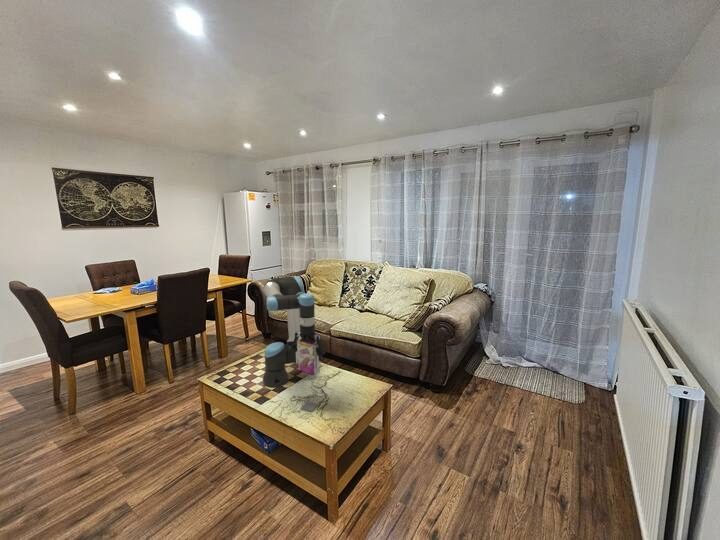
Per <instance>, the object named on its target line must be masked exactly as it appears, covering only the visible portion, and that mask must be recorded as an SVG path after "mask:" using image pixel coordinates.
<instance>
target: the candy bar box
mask: <svg viewBox="0 0 720 540" xmlns="http://www.w3.org/2000/svg"><path fill="white" fill-rule="evenodd" d="M300 340H301V339H300ZM300 340H298V341H297V360H298V364H297V370H298V371H300V372H303V373H306V374H309V375H312V376H315V375H317V374H319V373H320V367H319V368H317V355H318V354H317V352H316V348H318V347H319V346H318V344H317V341H316V342H315V343H314V344H310V343H309V342H304V341H302V342H300ZM312 342H313V341H312Z"/></svg>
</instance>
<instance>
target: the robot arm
mask: <svg viewBox="0 0 720 540" xmlns="http://www.w3.org/2000/svg"><path fill="white" fill-rule="evenodd" d="M262 291H263V294H264V295H265V297H267V298H266V309H267V311H268V312H280V311H286V317H287V318H286V319H287V329H288V339H287V340H286V344H285V343H284V342H281V341H276V342H272V343H270V344H268V345H267V346H266V347H265V349H264V365H265V366H264V367H265V368H264V369H265V370H264V374H263V377H262V384H263V385H264V387H267V388H278V387H282V386H284V385H285V384H287V383H288V382H289V375H288V372H287V369H286V365H288V364H297V365H298V360H297V341H298V340H300V339H301V340H300V342H302V341H304V342H309V343H310V344H314V343H315V342H317V344H318V346H319V347H318V348H316V352H317V354H318V355H317V368H319V369H320V367H321V366H322V364H321V363H322V361H323V356H324V355H325V354H326V349H325V346H324V344H323V342H322V341H323V340H322V338H321V337H322V336H321V334H318V335H317V334H316V333H315V332H316V320H315V319H316V318H315V317H316V316H315V313H316V312H315V302H316V301H315V296H314V294H312V293H307V292H306V293H304V284H303V281H302V278H301V277H300V276H295V275H293V276H281V277H274V278H273V277H272V278H270V279H269V280H267V281H266V282H265V283H264V285H263V289H262ZM312 341H313V342H312Z"/></svg>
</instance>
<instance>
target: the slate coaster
mask: <svg viewBox="0 0 720 540" xmlns="http://www.w3.org/2000/svg"><path fill="white" fill-rule="evenodd" d="M318 406H319V403H316V402H312V401H308V400H306V402H305V403H303V405H302V406H301V407H300V410H302V411H305V412H309V413H313V412H314V411H315V409H316V408H318Z"/></svg>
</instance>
